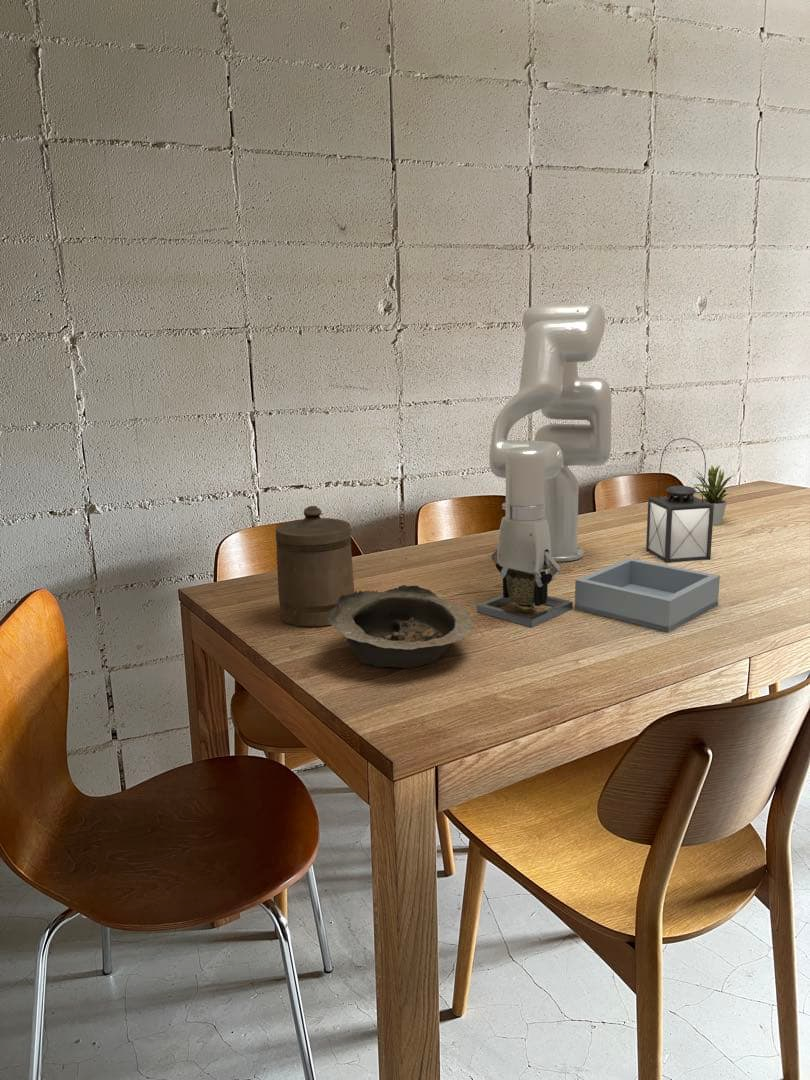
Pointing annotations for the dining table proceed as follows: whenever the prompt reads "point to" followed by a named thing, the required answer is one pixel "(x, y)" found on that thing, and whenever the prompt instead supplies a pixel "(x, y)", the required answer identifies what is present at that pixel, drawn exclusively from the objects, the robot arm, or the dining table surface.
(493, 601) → the square metal frame
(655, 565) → the bin
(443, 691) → the dining table surface
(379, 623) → the stone bowl
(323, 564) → the wooden container
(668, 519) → the lantern
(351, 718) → the dining table surface
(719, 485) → the house plant
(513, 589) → the dark bronze rounded piece
